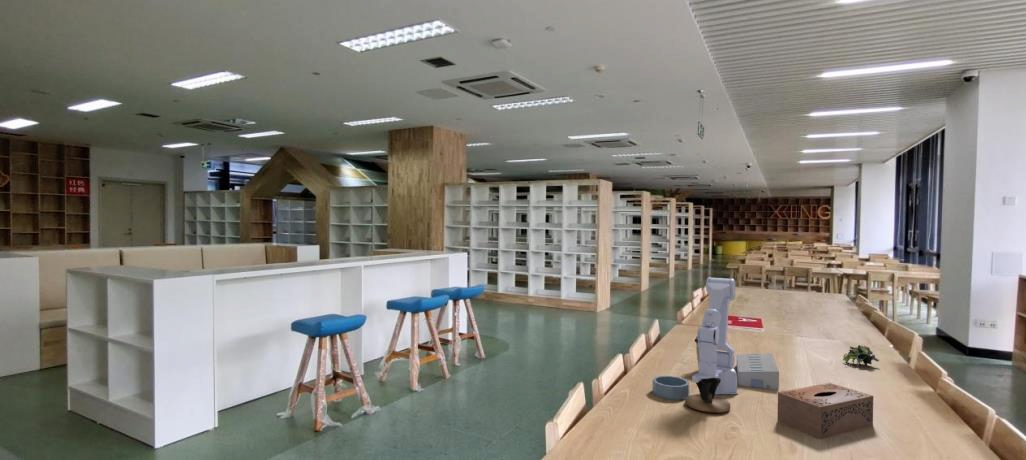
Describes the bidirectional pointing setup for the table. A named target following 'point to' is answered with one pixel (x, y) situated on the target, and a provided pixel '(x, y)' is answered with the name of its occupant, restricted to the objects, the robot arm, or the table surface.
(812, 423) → the tissue box cover
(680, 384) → the bowl
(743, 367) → the warehouse
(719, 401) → the lid
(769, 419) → the table surface
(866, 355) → the green leafy clump
